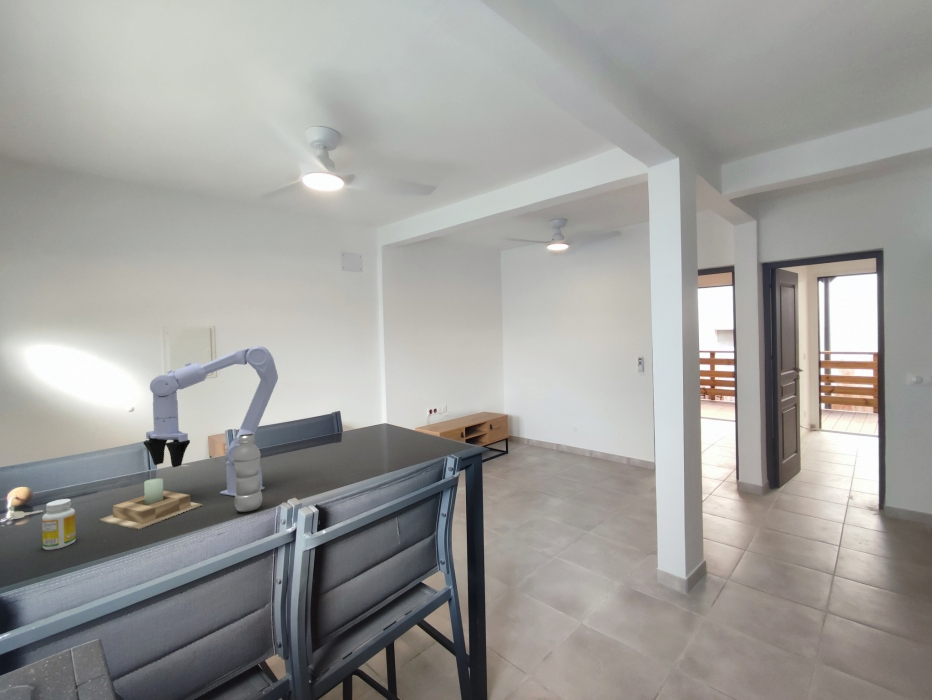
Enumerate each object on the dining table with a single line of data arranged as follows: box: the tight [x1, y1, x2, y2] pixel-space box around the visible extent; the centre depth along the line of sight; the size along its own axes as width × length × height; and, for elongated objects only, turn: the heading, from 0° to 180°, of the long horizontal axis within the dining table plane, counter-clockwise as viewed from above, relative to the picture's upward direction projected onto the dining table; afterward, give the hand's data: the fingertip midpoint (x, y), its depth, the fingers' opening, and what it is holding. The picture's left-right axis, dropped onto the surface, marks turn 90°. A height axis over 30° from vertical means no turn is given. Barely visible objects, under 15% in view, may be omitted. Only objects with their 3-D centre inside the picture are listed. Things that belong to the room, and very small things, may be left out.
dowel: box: [143, 477, 164, 506], centre depth 112 cm, size 4×4×8 cm
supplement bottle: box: [41, 498, 77, 551], centre depth 95 cm, size 5×5×10 cm
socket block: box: [98, 490, 204, 531], centre depth 112 cm, size 16×16×3 cm
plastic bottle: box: [233, 434, 263, 513], centre depth 112 cm, size 6×7×20 cm
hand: (167, 465), depth 120 cm, fingers open, 7 cm apart
